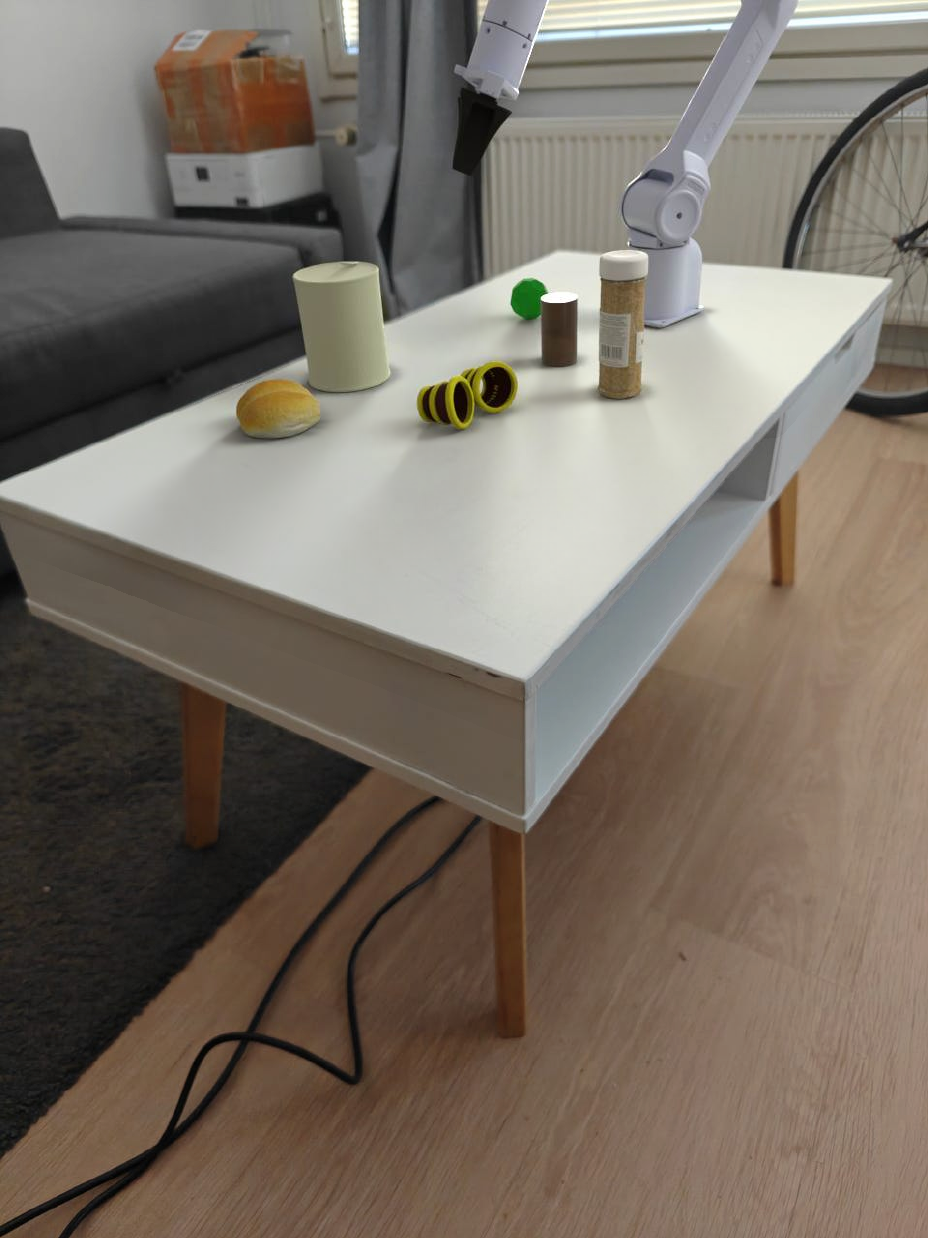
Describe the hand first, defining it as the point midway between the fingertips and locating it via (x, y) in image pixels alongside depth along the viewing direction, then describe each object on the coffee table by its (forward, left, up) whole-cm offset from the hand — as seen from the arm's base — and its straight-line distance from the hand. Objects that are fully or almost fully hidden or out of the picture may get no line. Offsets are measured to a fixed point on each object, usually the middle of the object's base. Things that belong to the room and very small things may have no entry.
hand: (461, 172), depth 97 cm
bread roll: (+29, +2, -19) cm, 35 cm away
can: (+16, -3, -19) cm, 25 cm away
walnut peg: (-2, +12, -19) cm, 23 cm away
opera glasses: (+16, +16, -19) cm, 30 cm away
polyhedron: (-13, -2, -19) cm, 23 cm away
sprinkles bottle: (+2, +24, -19) cm, 31 cm away
